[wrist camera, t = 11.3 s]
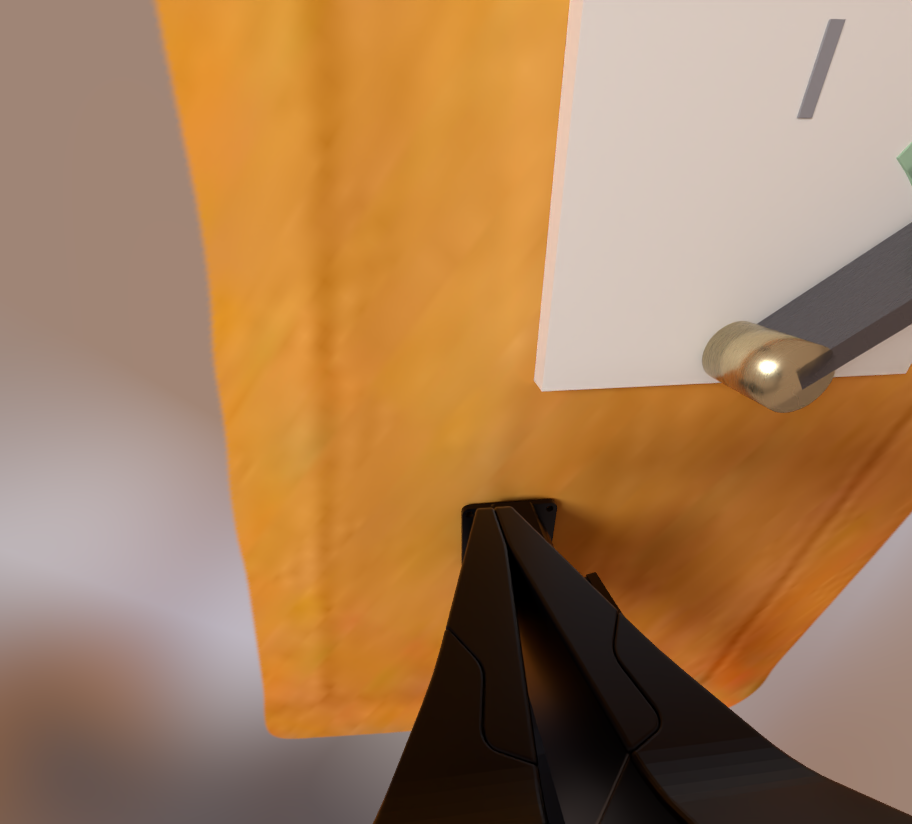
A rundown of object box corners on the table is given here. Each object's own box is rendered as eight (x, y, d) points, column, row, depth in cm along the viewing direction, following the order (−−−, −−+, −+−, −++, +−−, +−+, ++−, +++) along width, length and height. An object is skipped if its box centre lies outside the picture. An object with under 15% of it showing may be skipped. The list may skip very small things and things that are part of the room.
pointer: (713, 389, 21) (773, 425, 18) (693, 347, 20) (753, 376, 16) (1044, 179, 18) (1203, 171, 14) (1047, 110, 16) (1223, 82, 13)
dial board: (878, 364, 24) (907, 374, 22) (534, 380, 22) (542, 392, 21) (1144, -131, 14) (1222, -168, 13) (586, -175, 13) (608, -224, 11)
